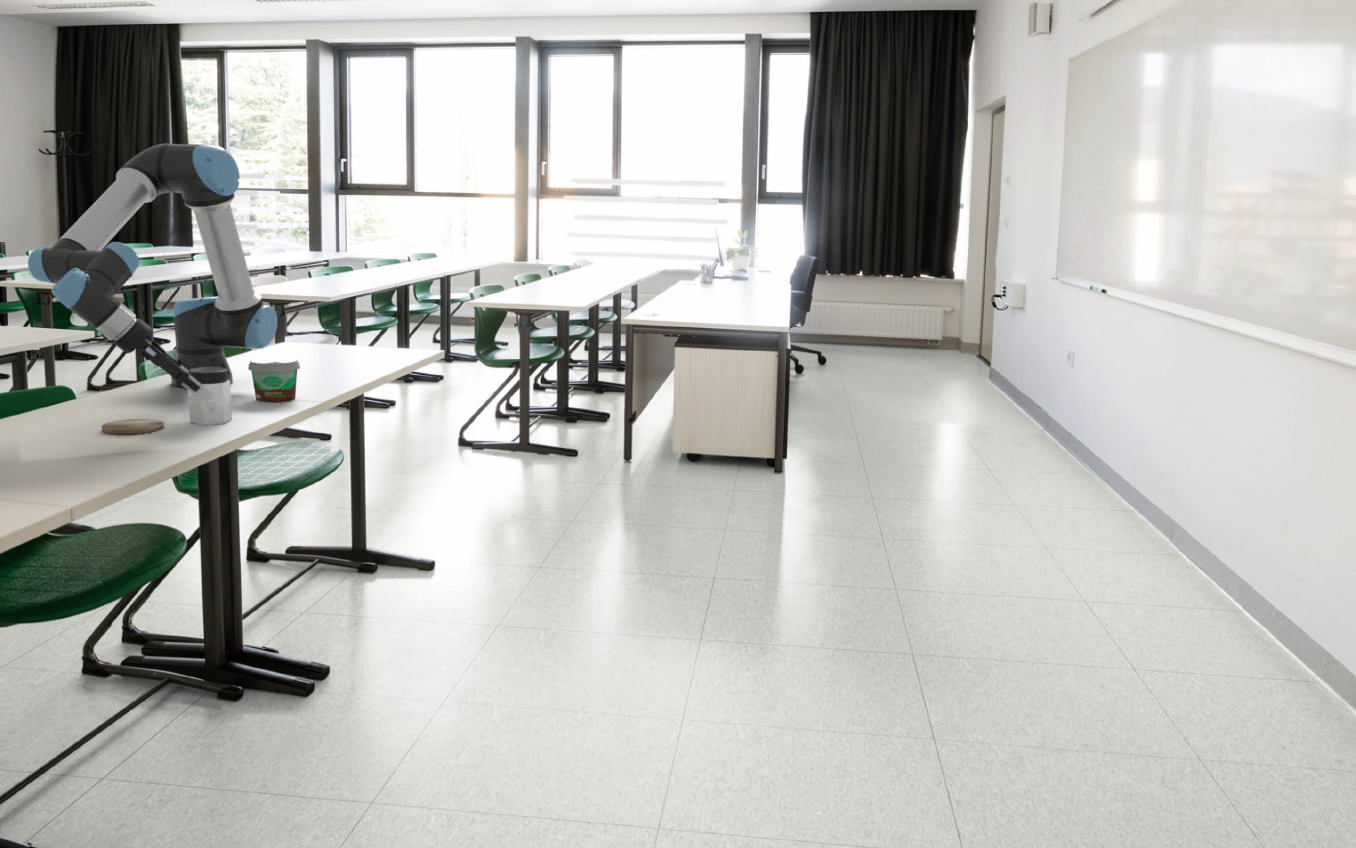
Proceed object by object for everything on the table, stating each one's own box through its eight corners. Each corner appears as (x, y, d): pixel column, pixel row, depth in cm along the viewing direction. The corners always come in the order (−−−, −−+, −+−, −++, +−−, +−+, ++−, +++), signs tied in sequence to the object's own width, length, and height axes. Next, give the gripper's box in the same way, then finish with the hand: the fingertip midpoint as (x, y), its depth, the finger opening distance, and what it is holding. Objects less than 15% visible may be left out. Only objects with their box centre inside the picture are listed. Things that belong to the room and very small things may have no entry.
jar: (192, 426, 226) (189, 373, 223) (187, 419, 233) (183, 368, 230) (235, 423, 231) (232, 371, 228) (228, 416, 237) (225, 365, 235)
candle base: (100, 425, 223) (99, 421, 223) (160, 421, 230) (160, 416, 230) (103, 437, 214) (103, 432, 213) (167, 432, 220) (166, 427, 220)
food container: (252, 404, 251) (249, 364, 248) (249, 400, 256) (247, 360, 254) (304, 402, 256) (302, 363, 254) (301, 397, 262) (299, 359, 259)
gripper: (107, 334, 228) (185, 395, 239) (116, 350, 207) (201, 416, 218) (132, 310, 229) (208, 372, 240) (143, 323, 209) (226, 390, 220)
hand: (205, 393), depth 229 cm, fingers open, 13 cm apart
